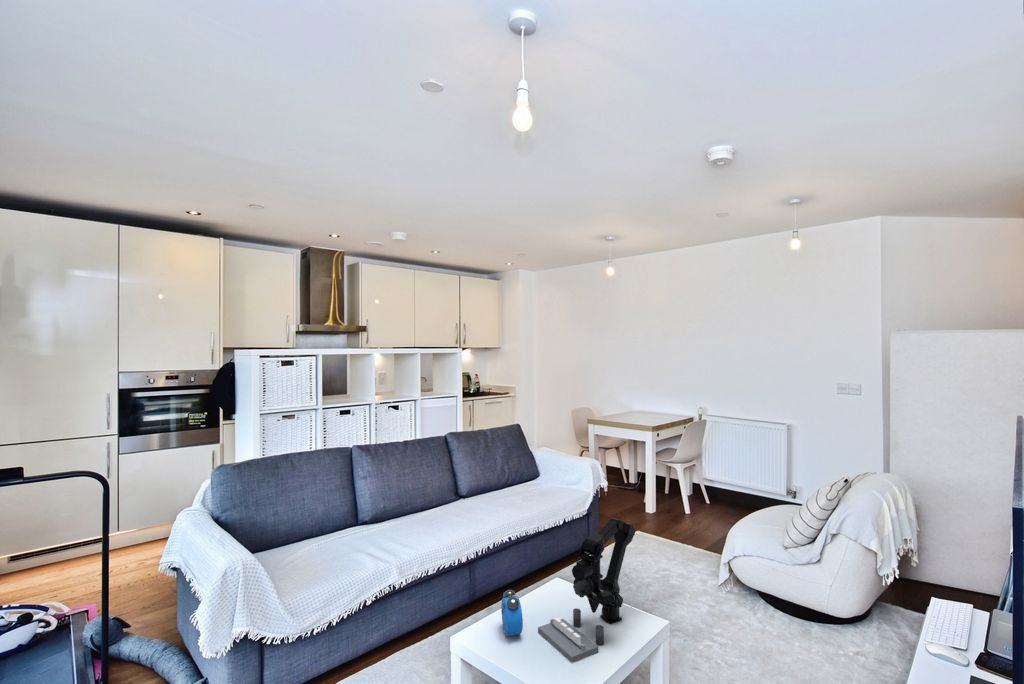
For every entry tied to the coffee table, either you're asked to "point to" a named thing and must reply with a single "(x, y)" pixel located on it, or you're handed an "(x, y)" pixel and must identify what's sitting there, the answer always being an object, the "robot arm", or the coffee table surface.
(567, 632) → the breaker paddles
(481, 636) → the coffee table surface
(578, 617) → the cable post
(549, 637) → the breaker panel
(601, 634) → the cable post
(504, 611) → the alarm clock
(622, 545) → the robot arm
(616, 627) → the coffee table surface
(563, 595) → the coffee table surface
